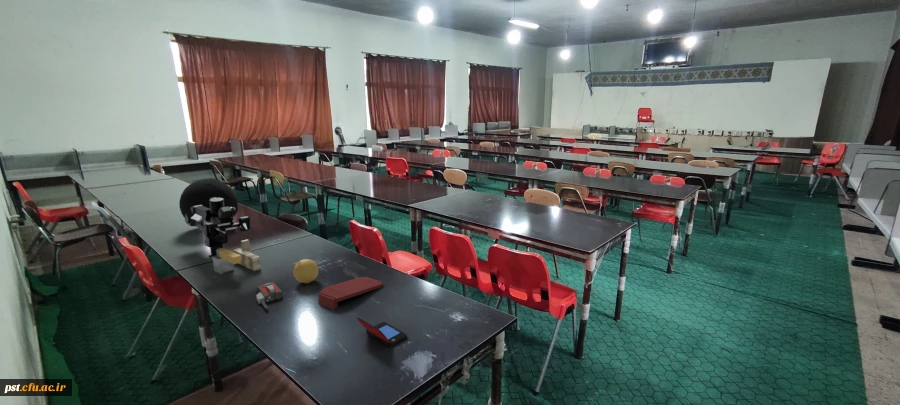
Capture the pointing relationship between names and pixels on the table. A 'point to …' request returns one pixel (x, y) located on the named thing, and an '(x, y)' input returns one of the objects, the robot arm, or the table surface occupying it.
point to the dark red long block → (346, 290)
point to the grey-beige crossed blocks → (248, 256)
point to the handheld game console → (384, 333)
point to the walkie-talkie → (268, 293)
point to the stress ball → (305, 271)
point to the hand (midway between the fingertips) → (236, 232)
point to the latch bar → (228, 255)
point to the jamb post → (222, 265)
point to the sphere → (207, 195)
